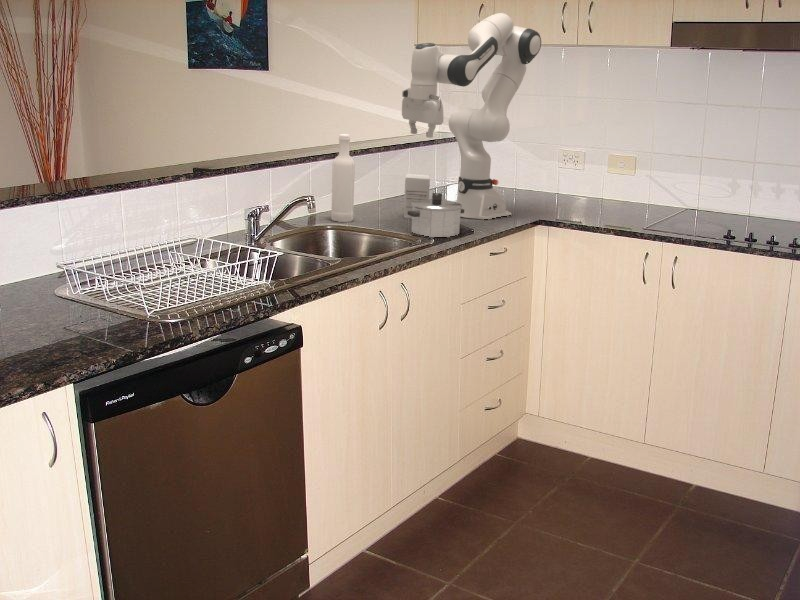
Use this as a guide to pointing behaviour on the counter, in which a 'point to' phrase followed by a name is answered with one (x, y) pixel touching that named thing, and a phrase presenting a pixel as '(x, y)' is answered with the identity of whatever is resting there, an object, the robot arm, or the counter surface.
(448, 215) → the pot
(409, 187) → the supplement box
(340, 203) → the bottle
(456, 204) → the lid
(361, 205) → the counter surface
